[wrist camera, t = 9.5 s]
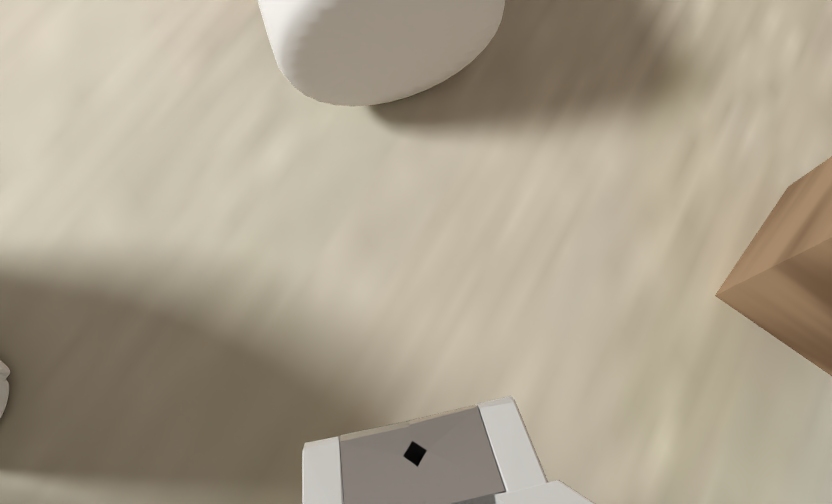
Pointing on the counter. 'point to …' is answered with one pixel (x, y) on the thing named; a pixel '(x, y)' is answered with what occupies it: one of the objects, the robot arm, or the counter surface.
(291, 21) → the milk bottle
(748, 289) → the walnut block
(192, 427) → the counter surface
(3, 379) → the photo printer
